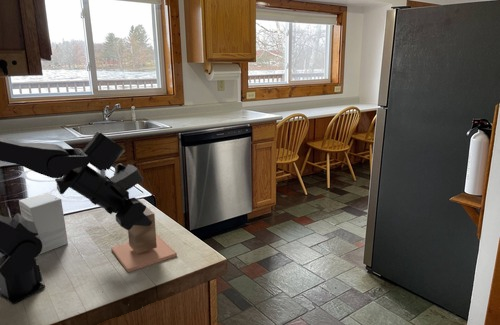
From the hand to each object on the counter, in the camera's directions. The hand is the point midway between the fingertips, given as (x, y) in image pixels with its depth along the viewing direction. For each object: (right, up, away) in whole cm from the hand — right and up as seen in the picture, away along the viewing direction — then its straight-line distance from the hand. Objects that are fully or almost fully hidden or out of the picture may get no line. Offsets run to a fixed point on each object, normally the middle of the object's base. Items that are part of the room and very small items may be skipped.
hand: (146, 220), depth 89 cm
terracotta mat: (-1, -8, +2) cm, 9 cm away
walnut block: (-1, -7, +1) cm, 7 cm away
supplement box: (-27, -7, +5) cm, 28 cm away
